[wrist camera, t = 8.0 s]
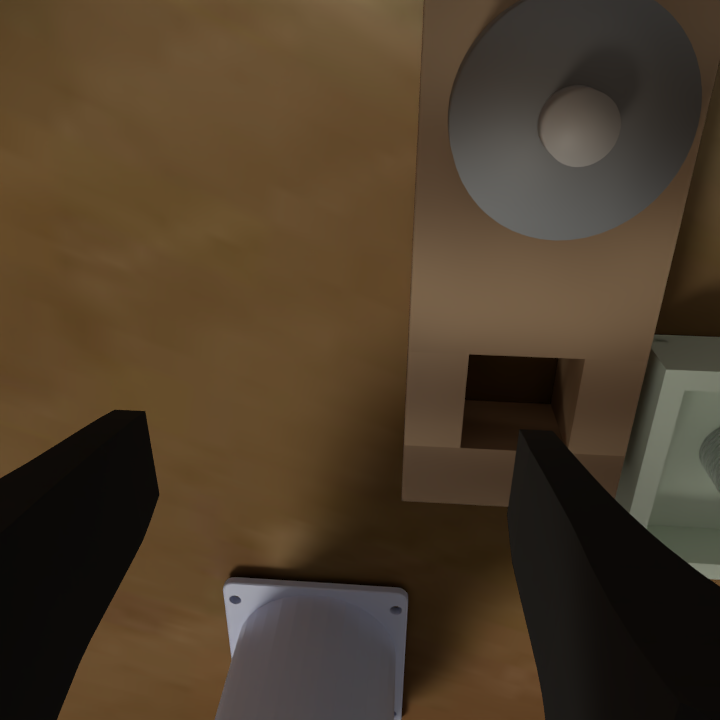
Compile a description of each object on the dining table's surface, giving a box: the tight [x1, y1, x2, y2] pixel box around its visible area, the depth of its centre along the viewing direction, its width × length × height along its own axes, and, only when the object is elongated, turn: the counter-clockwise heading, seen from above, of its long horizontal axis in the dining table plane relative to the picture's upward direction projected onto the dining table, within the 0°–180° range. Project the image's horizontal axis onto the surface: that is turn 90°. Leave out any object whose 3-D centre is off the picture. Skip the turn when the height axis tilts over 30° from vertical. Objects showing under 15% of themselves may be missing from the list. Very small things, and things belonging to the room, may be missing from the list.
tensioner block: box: [402, 0, 720, 507], centre depth 19 cm, size 16×7×5 cm, turn 0°
